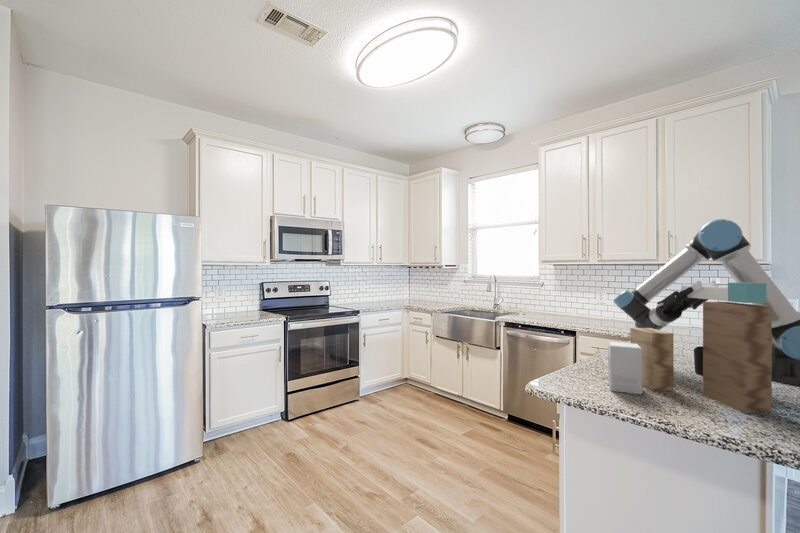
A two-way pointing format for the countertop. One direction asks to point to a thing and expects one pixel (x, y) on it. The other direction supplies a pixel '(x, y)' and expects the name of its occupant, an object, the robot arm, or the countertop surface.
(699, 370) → the pen holder
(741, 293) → the teal and white bar
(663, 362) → the wooden block
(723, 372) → the tall block
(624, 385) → the supplement box
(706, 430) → the countertop surface
